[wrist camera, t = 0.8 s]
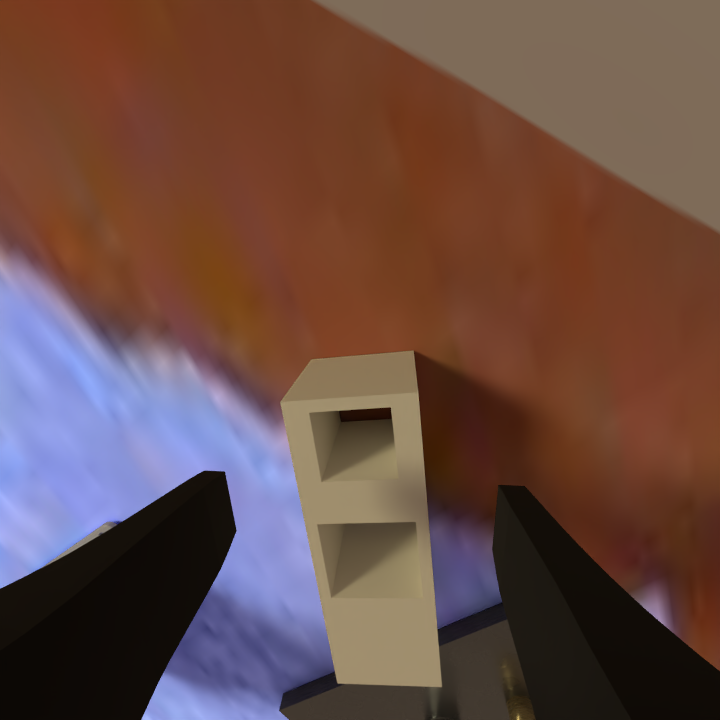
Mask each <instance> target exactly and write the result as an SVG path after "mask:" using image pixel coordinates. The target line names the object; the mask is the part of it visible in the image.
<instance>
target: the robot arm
mask: <svg viewBox="0 0 720 720" xmlns="http://www.w3.org/2000/svg"><path fill="white" fill-rule="evenodd" d="M235 533H236V526H235V521H234V516H233V511H232V506H231V500H230V495H229V490H228V485H227V480H226V475H225V472H221V471H203V472H201V473H199V474H197V475H196V476H194V477H192V478H191V479H189V480H187V481H186V482H184V483H182V484H181V485H179V486H178V487H176V488H175V489H173V490H171V491H170V492H168V493H167V494H165V495H164V496H162V497H160V498H159V499H157V500H156V501H154V502H153V503H151V504H150V505H148V506H146V507H145V508H143V509H142V510H140V511H139V512H137V513H135V514H134V515H132V516H131V517H129V518H128V519H126V520H124V521H123V522H121V523H119V524H118V525H117V524H116V523H114V522H106V523H105V524H103V525H102V526H100V527H99V528H97V529H96V530H95V531H93V532H92V533H90V534H89V535H87V536H86V537H85V538H83V539H82V540H80V541H79V542H77V543H76V544H75V545H73V546H72V547H70V548H69V549H67V550H66V551H65V552H63V553H62V554H60V555H59V556H57V557H56V558H55V559H53V560H52V561H50V562H49V563H47V564H46V565H45V566H43V567H42V568H40V569H39V570H37V571H35V572H33V573H31V574H29V575H27V576H25V577H23V578H21V579H19V580H17V581H15V582H13V583H11V584H9V585H7V586H5V587H3V588H1V589H0V720H141V719H142V717H143V714H144V712H145V710H146V708H147V706H148V704H149V701H150V699H151V697H152V695H153V693H154V691H155V688H156V686H157V684H158V682H159V680H160V678H161V676H162V674H163V672H164V671H165V669H166V667H167V665H168V663H169V661H170V659H171V657H172V655H173V654H174V652H175V650H176V648H177V647H178V645H179V643H180V641H181V639H182V638H183V636H184V634H185V632H186V631H187V629H188V627H189V625H190V623H191V622H192V620H193V618H194V616H195V615H196V613H197V611H198V609H199V608H200V606H201V604H202V602H203V600H204V599H205V597H206V595H207V593H208V591H209V590H210V588H211V586H212V584H213V582H214V581H215V579H216V577H217V575H218V573H219V571H220V569H221V567H222V565H223V563H224V560H225V558H226V556H227V553H228V551H229V549H230V546H231V543H232V541H233V538H234V536H235ZM492 550H493V556H494V562H495V568H496V574H497V580H498V585H499V591H500V595H501V599H502V602H503V606H504V609H505V613H506V616H507V620H508V624H509V627H510V631H511V634H512V638H513V641H514V645H515V648H516V651H517V655H518V658H519V662H520V665H521V669H522V672H523V676H524V679H525V683H526V686H527V690H528V693H529V697H530V700H531V704H532V707H533V711H534V715H535V719H536V720H720V671H719V670H717V669H716V668H715V667H714V666H712V665H711V664H710V663H709V662H707V661H706V660H705V659H704V658H702V657H701V656H700V655H699V654H697V653H696V652H695V651H694V650H693V649H691V648H690V647H689V646H688V645H687V644H685V643H684V642H683V641H682V640H681V639H680V638H678V637H677V636H676V635H675V634H674V633H672V632H671V631H670V630H669V629H668V628H666V627H665V626H664V625H663V624H662V623H661V622H659V621H658V620H657V619H656V618H655V617H654V616H652V615H651V614H650V613H649V612H648V611H647V610H646V609H644V608H643V607H642V606H641V605H640V604H639V603H638V602H637V601H636V600H635V599H633V598H632V597H631V596H630V595H629V594H628V593H627V592H626V591H625V590H624V589H623V588H622V587H621V586H620V585H618V584H617V583H616V582H615V581H614V580H613V579H612V578H611V577H610V576H609V575H608V574H607V573H606V572H605V571H604V570H603V569H602V568H601V567H600V566H599V565H598V564H597V563H596V562H595V561H594V560H593V559H592V558H591V557H590V556H589V555H588V554H587V553H586V552H585V551H584V550H583V549H582V548H581V547H580V546H579V545H578V544H577V543H576V542H575V541H574V540H573V539H572V537H571V536H570V535H569V534H568V533H567V532H566V531H565V530H564V529H563V528H562V527H561V526H560V525H559V523H558V522H557V521H556V520H555V519H554V518H553V517H552V516H551V515H550V514H549V513H548V511H547V510H546V509H545V508H544V507H543V506H542V505H541V504H540V503H539V501H538V500H537V499H536V498H535V497H534V496H533V495H532V494H531V493H530V491H529V490H528V489H527V488H526V487H525V486H509V485H498V496H497V506H496V516H495V527H494V537H493V547H492Z"/></svg>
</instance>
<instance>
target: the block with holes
mask: <svg viewBox="0 0 720 720" xmlns="http://www.w3.org/2000/svg"><path fill="white" fill-rule="evenodd" d="M280 403H281V408H282V413H283V418H284V423H285V427H286V432H287V437H288V442H289V447H290V452H291V457H292V462H293V467H294V472H295V477H296V482H297V487H298V492H299V497H300V501H301V506H302V511H303V516H304V521H305V526H306V531H307V536H308V541H309V546H310V551H311V556H312V561H313V566H314V571H315V575H316V580H317V585H318V590H319V595H320V600H321V605H322V610H323V615H324V620H325V625H326V630H327V635H328V640H329V645H330V649H331V654H332V659H333V664H334V669H335V674H336V679H337V683H338V684H366V685H394V686H423V687H442V681H441V669H440V656H439V644H438V631H437V619H436V607H435V594H434V582H433V569H432V557H431V544H430V532H429V519H428V507H427V494H426V482H425V470H424V457H423V445H422V432H421V420H420V407H419V395H418V385H417V376H416V368H415V359H414V351H404V352H392V353H381V354H369V355H358V356H346V357H334V358H323V359H311V361H310V362H309V363H308V365H307V366H306V367H305V369H304V370H303V372H302V373H301V374H300V376H299V377H298V378H297V380H296V381H295V383H294V384H293V385H292V387H291V388H290V389H289V391H288V392H287V394H286V395H285V396H284V398H283V399H282V400H281V402H280ZM386 407H391V413H392V419H381V420H365V421H348V422H341V419H340V412H339V411H341V410H356V409H371V408H386Z"/></svg>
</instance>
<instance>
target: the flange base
mask: <svg viewBox="0 0 720 720" xmlns="http://www.w3.org/2000/svg"><path fill="white" fill-rule="evenodd" d="M437 631H438V644H439V656H440V669H441V681H442V687H423V686H394V685H366V684H338V683H337V679H336V674H335V672H334V673H332V674H329V675H327V676H325V677H322V678H320V679H317V680H315V681H313V682H310V683H308V684H305V685H303V686H300V687H298V688H296V689H293V690H291V691H288V692H286V693H284V694H283V697H282V701H281V705H280V709H279V711H280V712H281V713H282V714H283V715H285V716H286V717H287V718H288V719H289V720H536V719H535V715H534V711H533V707H532V704H531V700H530V697H529V693H528V690H527V686H526V683H525V679H524V676H523V672H522V669H521V665H520V662H519V658H518V655H517V651H516V648H515V645H514V641H513V638H512V634H511V631H510V627H509V624H508V620H507V616H506V613H505V609H504V606H503V603H501V604H498V605H496V606H494V607H491V608H489V609H486V610H484V611H482V612H479V613H477V614H474V615H472V616H470V617H467V618H465V619H462V620H460V621H457V622H455V623H453V624H450V625H448V626H445V627H443V628H441V629H438V630H437Z"/></svg>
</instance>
